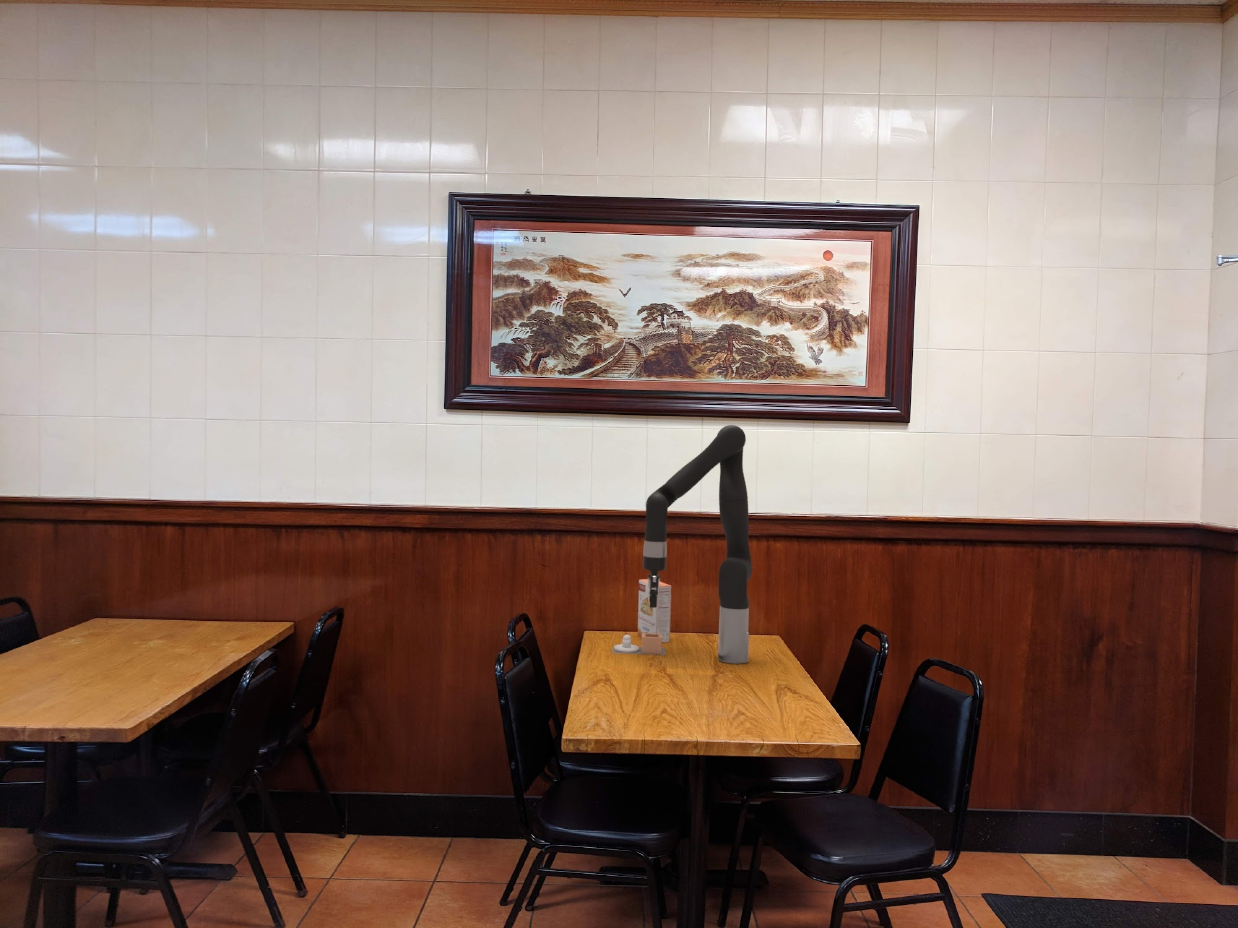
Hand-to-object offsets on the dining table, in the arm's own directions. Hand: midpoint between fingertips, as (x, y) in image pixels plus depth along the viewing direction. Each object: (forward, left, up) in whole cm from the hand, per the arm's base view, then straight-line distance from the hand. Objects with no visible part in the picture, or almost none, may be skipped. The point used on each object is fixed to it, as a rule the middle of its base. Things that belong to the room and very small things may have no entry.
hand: (652, 604), depth 263 cm
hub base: (+4, 0, -16) cm, 17 cm away
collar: (0, 0, -15) cm, 15 cm away
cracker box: (-1, -19, -17) cm, 25 cm away
